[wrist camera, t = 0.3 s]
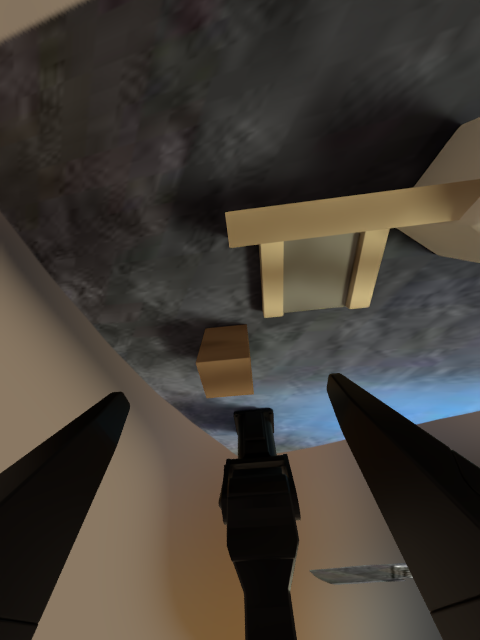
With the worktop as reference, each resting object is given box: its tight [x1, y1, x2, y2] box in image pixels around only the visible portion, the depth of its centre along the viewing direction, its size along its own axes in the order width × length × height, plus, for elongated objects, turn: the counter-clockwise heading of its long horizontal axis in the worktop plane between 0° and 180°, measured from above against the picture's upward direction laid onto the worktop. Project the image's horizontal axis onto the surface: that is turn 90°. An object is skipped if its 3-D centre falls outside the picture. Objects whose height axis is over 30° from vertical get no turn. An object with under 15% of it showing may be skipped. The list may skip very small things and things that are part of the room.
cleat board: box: [225, 179, 480, 318], centre depth 15 cm, size 10×16×6 cm, turn 96°
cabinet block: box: [196, 324, 254, 398], centre depth 20 cm, size 6×5×6 cm
